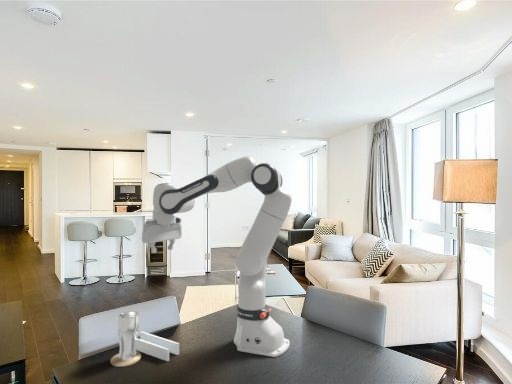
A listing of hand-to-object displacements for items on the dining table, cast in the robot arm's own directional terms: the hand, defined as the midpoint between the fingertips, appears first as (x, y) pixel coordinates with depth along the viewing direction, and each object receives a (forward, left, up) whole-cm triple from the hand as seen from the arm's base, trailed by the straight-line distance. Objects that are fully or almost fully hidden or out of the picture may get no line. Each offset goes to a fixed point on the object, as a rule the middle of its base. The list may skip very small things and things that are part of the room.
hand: (162, 251), depth 132 cm
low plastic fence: (-12, +15, -34) cm, 39 cm away
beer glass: (-8, +23, -34) cm, 42 cm away
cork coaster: (-8, +24, -34) cm, 42 cm away
